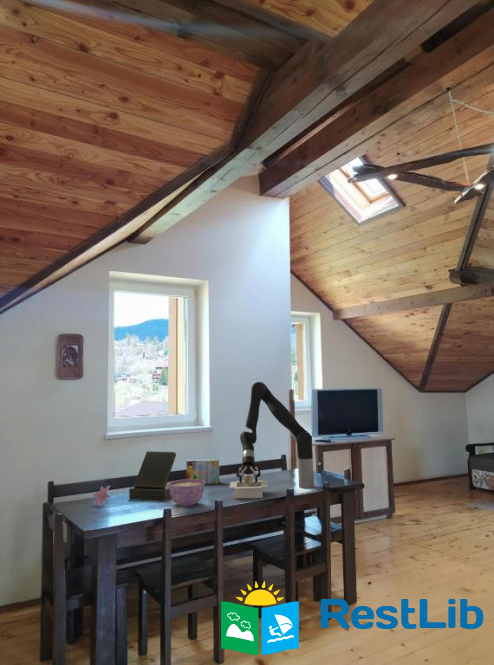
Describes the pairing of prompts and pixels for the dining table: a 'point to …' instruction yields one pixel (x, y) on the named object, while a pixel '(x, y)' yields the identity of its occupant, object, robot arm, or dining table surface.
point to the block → (248, 480)
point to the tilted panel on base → (153, 477)
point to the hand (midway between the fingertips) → (248, 482)
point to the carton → (248, 489)
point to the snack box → (204, 470)
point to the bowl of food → (186, 491)
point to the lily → (101, 495)
